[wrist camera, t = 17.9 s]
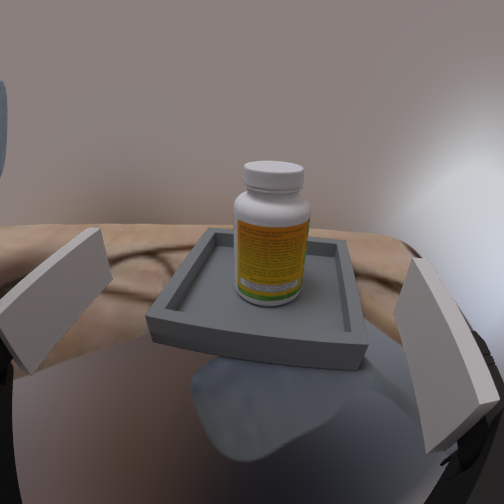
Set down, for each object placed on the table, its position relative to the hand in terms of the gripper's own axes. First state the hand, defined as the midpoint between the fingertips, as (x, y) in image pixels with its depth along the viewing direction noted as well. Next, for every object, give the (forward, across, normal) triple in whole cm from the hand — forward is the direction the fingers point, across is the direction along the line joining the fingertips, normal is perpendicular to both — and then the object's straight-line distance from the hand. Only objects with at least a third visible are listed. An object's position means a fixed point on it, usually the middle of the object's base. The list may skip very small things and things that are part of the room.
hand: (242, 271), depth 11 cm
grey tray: (+10, 0, -8) cm, 13 cm away
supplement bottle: (+10, 0, -8) cm, 12 cm away
